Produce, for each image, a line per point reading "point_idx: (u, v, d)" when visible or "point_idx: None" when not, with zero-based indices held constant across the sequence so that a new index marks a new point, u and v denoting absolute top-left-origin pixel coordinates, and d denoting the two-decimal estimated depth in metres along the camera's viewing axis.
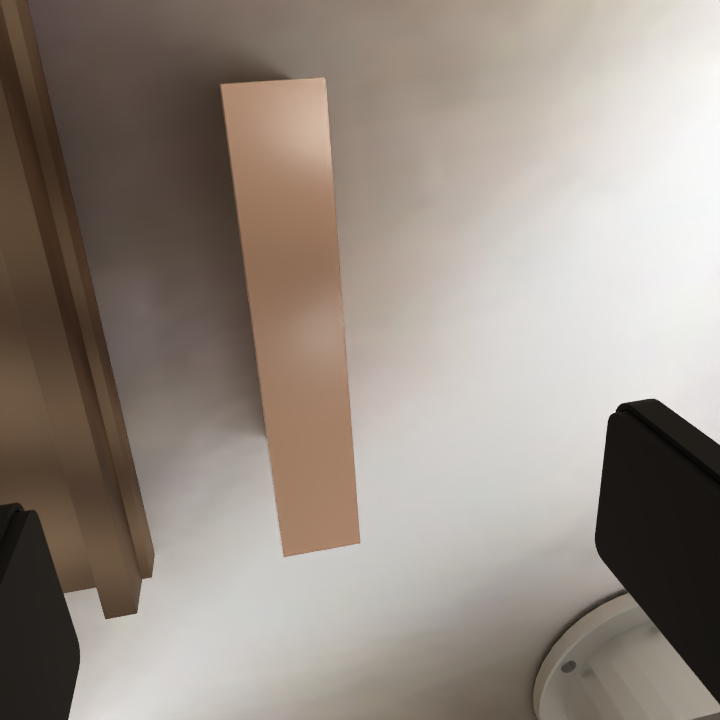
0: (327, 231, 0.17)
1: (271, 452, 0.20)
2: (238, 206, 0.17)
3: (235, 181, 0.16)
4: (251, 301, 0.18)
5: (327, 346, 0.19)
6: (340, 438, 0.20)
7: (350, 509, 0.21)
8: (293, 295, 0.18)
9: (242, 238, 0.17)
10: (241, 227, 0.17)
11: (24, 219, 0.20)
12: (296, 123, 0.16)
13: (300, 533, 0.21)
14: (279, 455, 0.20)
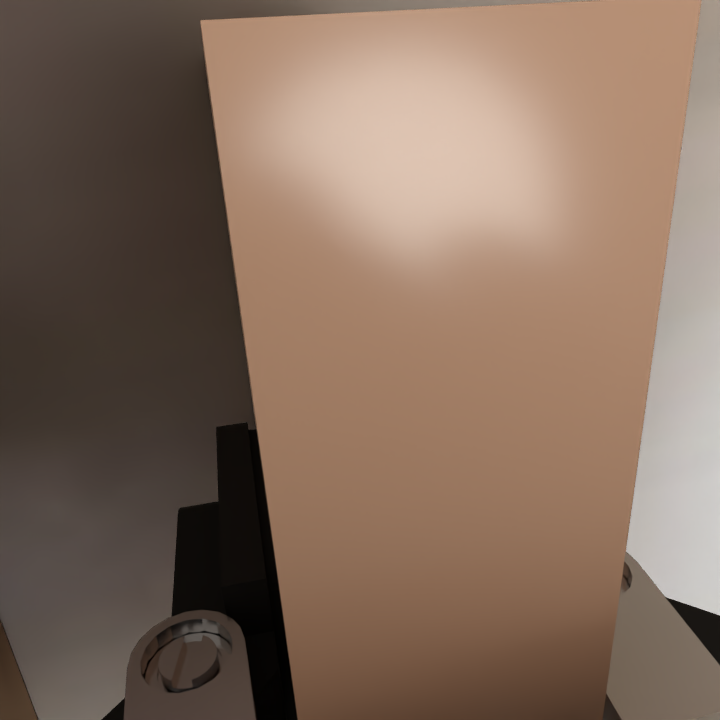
0: (591, 575, 0.05)
1: None
2: (277, 535, 0.04)
3: (266, 449, 0.04)
4: None
5: None
6: None
7: None
8: None
9: (289, 633, 0.04)
10: (287, 602, 0.04)
11: None
12: (544, 210, 0.04)
13: None
14: None
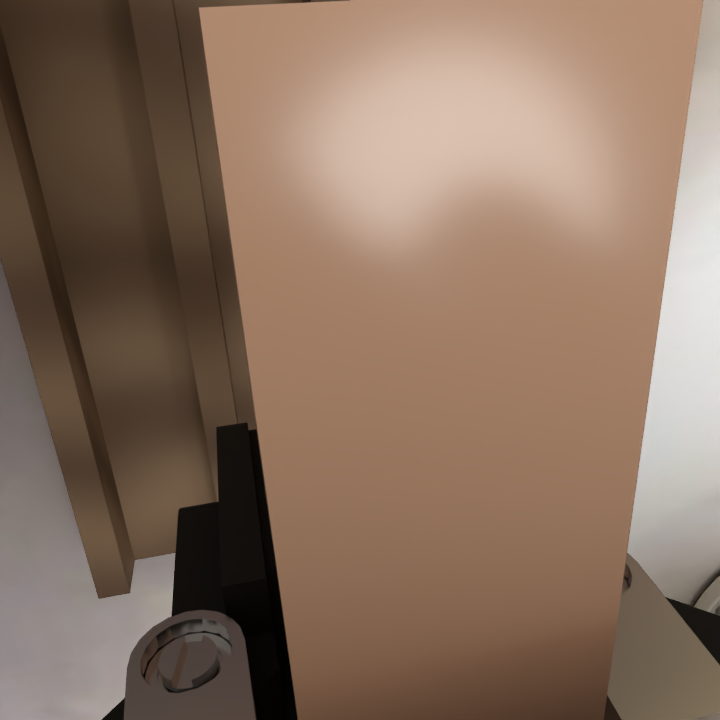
0: (593, 571, 0.05)
1: None
2: (277, 531, 0.04)
3: (266, 443, 0.04)
4: None
5: None
6: None
7: None
8: None
9: (289, 630, 0.04)
10: (287, 598, 0.04)
11: None
12: (545, 201, 0.04)
13: None
14: None
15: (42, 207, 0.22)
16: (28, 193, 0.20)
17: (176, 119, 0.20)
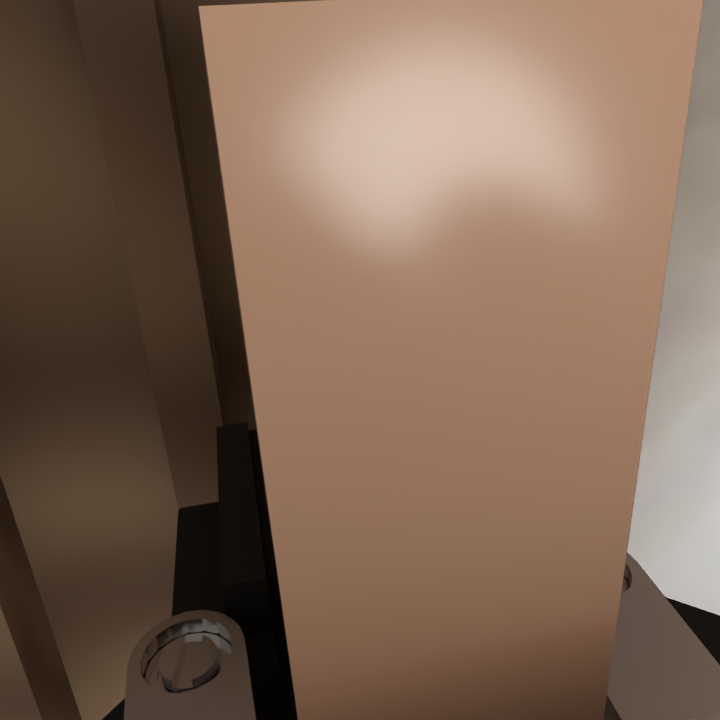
0: (593, 570, 0.05)
1: None
2: (277, 530, 0.04)
3: (266, 442, 0.04)
4: None
5: None
6: None
7: None
8: None
9: (289, 629, 0.04)
10: (287, 597, 0.04)
11: None
12: (545, 201, 0.04)
13: None
14: None
15: None
16: None
17: (154, 157, 0.11)
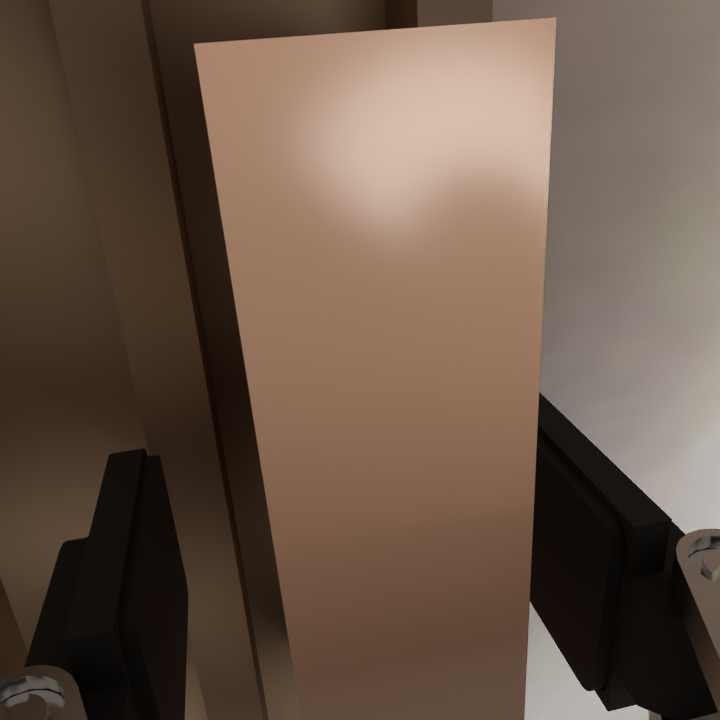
0: (510, 469, 0.06)
1: None
2: (258, 427, 0.05)
3: (249, 358, 0.05)
4: (294, 650, 0.06)
5: (481, 716, 0.07)
6: None
7: None
8: (407, 624, 0.07)
9: (270, 508, 0.06)
10: (268, 482, 0.06)
11: None
12: (450, 175, 0.05)
13: None
14: None
15: None
16: None
17: (140, 162, 0.10)
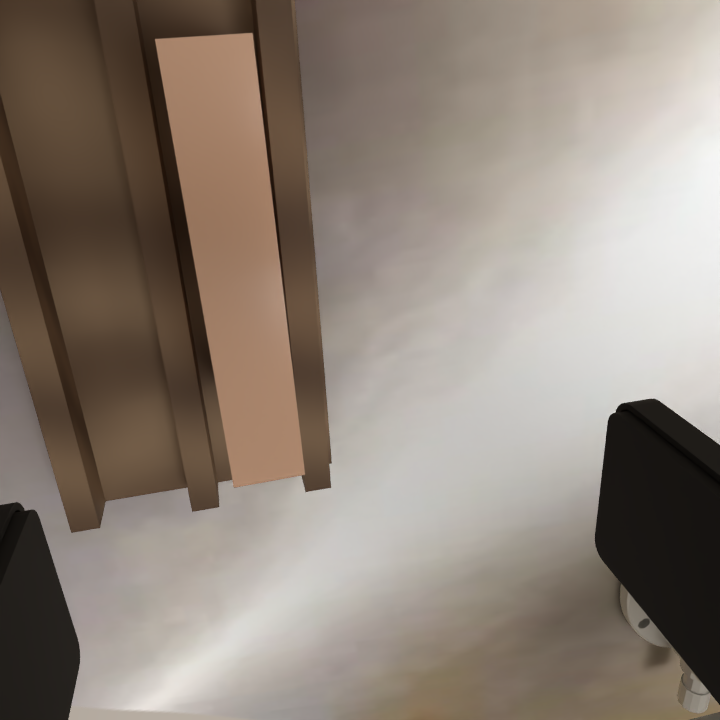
0: (260, 178, 0.19)
1: (217, 387, 0.21)
2: (176, 154, 0.18)
3: (172, 130, 0.18)
4: (192, 244, 0.19)
5: (265, 287, 0.20)
6: (282, 375, 0.22)
7: (294, 442, 0.23)
8: (232, 238, 0.19)
9: (181, 184, 0.18)
10: (180, 174, 0.18)
11: (293, 140, 0.24)
12: (227, 76, 0.18)
13: (248, 465, 0.23)
14: (225, 390, 0.21)
15: (16, 170, 0.24)
16: (3, 156, 0.23)
17: (135, 91, 0.23)
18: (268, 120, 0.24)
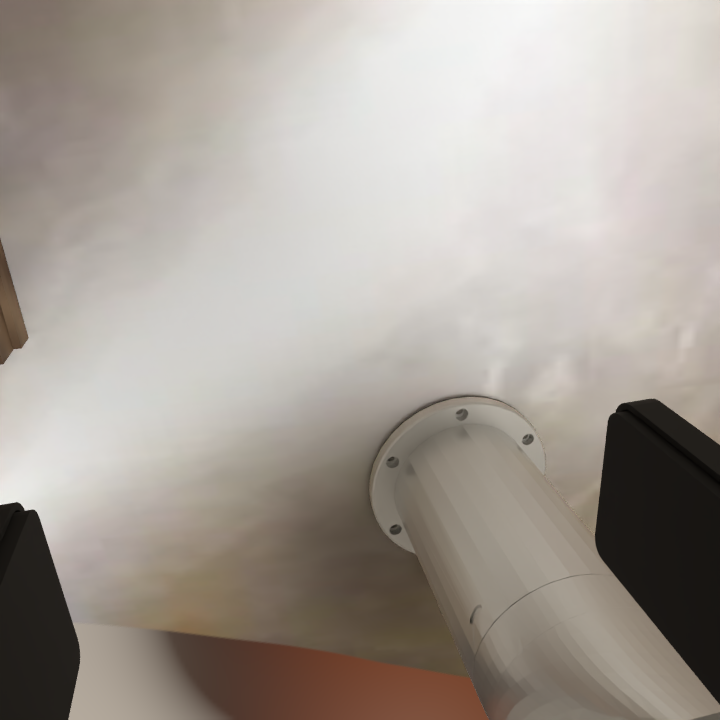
0: None
1: None
2: None
3: None
4: None
5: None
6: None
7: None
8: None
9: None
10: None
11: None
12: None
13: None
14: None
15: None
16: None
17: None
18: None
